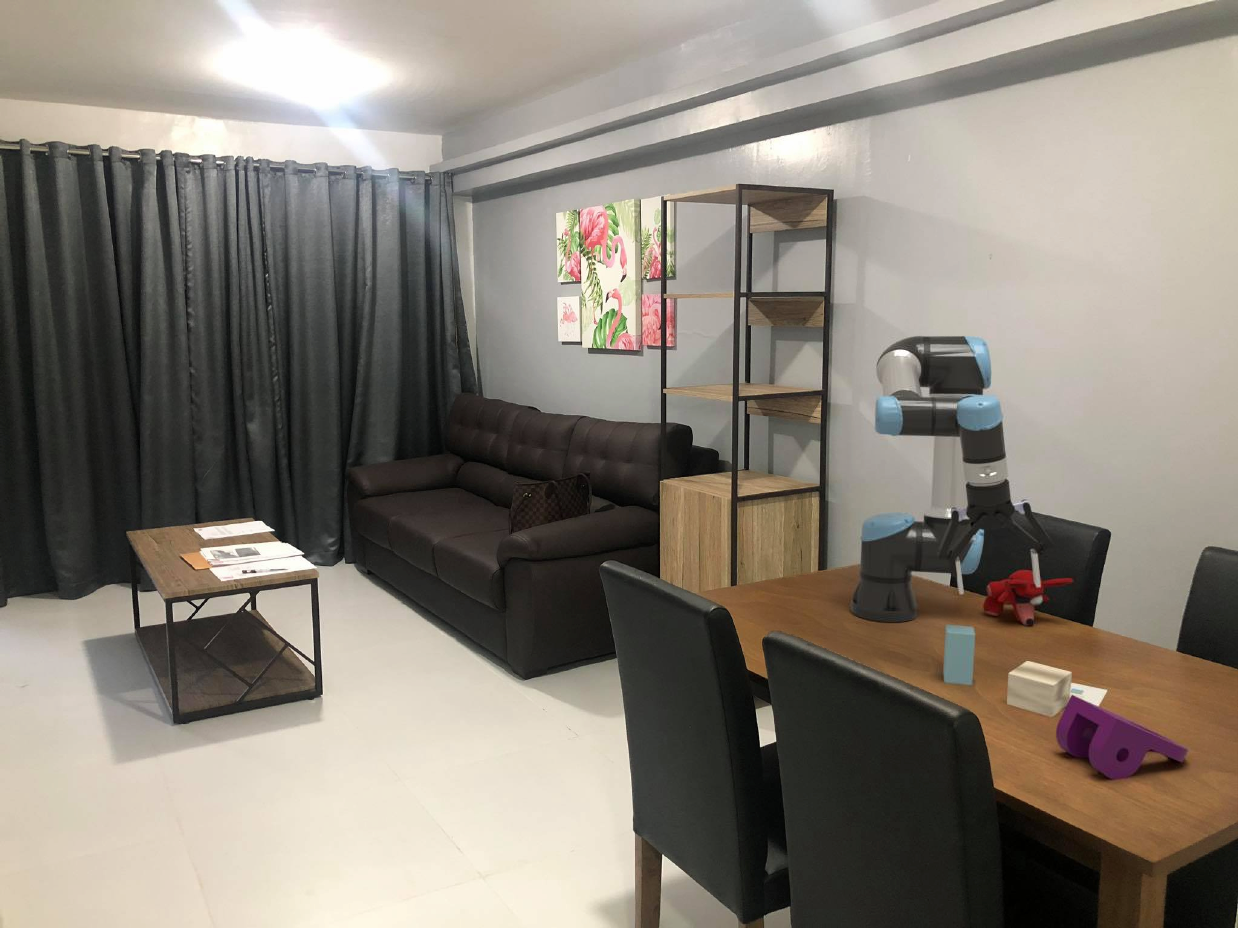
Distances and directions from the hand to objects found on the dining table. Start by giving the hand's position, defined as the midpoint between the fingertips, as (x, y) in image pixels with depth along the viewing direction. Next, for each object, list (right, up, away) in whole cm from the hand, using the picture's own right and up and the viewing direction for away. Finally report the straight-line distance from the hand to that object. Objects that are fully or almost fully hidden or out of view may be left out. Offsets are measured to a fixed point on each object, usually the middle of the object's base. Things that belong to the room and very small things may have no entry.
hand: (998, 588), depth 184 cm
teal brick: (-6, -18, +5) cm, 20 cm away
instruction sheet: (+13, -19, -3) cm, 23 cm away
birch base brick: (+4, -20, -7) cm, 22 cm away
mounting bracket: (+9, -24, -29) cm, 39 cm away
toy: (+21, -13, +41) cm, 47 cm away
